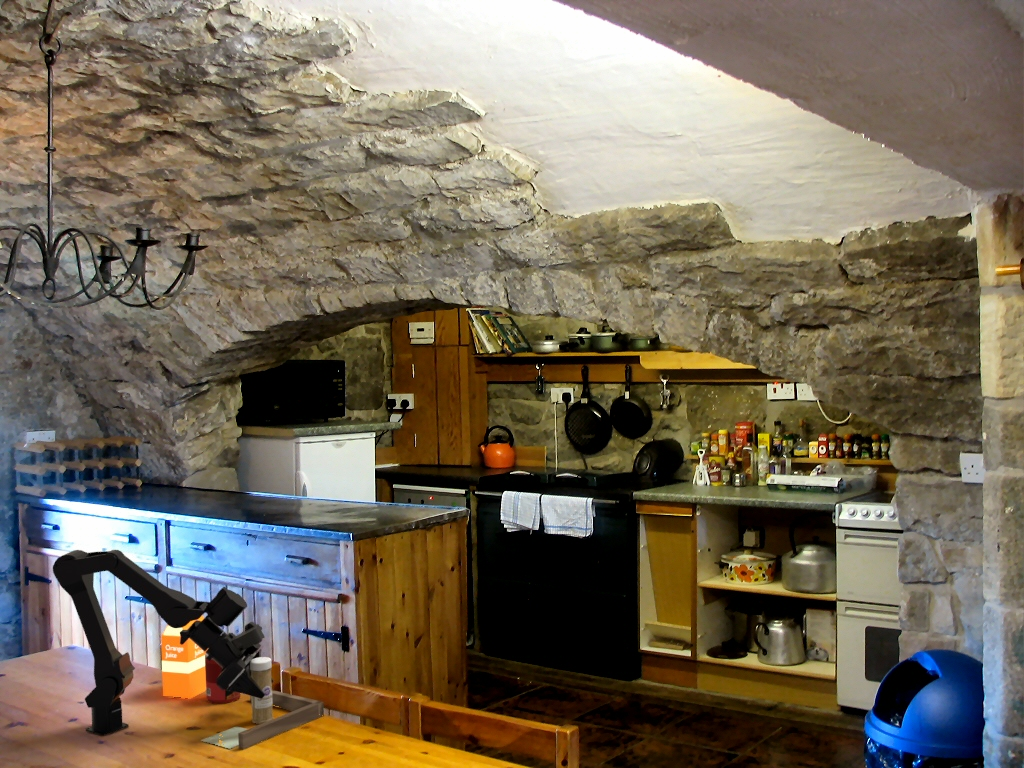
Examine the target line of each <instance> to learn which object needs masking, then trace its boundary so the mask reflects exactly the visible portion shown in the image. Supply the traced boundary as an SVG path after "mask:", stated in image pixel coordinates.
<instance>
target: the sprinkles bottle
mask: <svg viewBox="0 0 1024 768" xmlns="http://www.w3.org/2000/svg"><path fill="white" fill-rule="evenodd" d="M272 667H273V665H272V658H270V657H268V656H261V657H259V658H255V659H252V660H251V661H250V671H251V676H250V677H251V678H252V679H253V680H254V681H255V682H256V684H257V685H258V686H259V687H260V688H261V690H262V691H263V692H264V693H265V696H264V697H263V698H262V699H261V698H257V697H254V696H251V700H252V701H251V700H250V701H251V711H252V712H251V713H252V714H251V715H252V718H251V722H252V723H254V724H255V723H256V725H260V724H262V723H265V722H267V721H270V720H272V719H274V715H273V706H272V690H273V688H272V687H273V686H272V684H273V683H272V682H271V677H272Z"/></svg>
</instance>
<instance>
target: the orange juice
mask: <svg viewBox="0 0 1024 768" xmlns="http://www.w3.org/2000/svg"><path fill="white" fill-rule="evenodd" d="M204 618H205V617H204V614H203V615H202V616H201V617H200V618H199V619H198V620H199V621H202V620H203V619H204ZM195 621H196V620H194V621H190V622H189V623H188V624H187V625H186V626H184V627H182V628H172V627H170V626H169V625H168V624H166V626H165V629H164V630H163V632H162V634H161V636H160V641H161V642H160V644H161V645H160V646H161V673H162V697H163V696H173V697H172V698H174V697H181V698H180V699H185V698H188V700H190V699H192V698H194V697H196V696H198V695H200V694H202V693H204V692H206V675H205V652H206V651H207V650H208V649H209V648H208V649H207V650H206V651H205V652H204V651H203V650H202V649H201V648H200V647H199V646H197V645H196V644H195V643H194V642H193V641H192V640H191V639H190V638H189V639H188V640H187V641H186V642H185V643H184V644H183V645H181V644H180V632H181V631H182V630H183V629H184V630H186V629H188V628H189V627H190V626H191V625H192V624H193V623H194V622H195Z"/></svg>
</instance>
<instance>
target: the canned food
mask: <svg viewBox="0 0 1024 768" xmlns="http://www.w3.org/2000/svg"><path fill="white" fill-rule="evenodd" d="M207 656H208V655H207V654H206V653H205V675H206V691H205V693H206V694H205V696H206V699H207V702H208V701H209V702H208V703H210V702H211V703H210V704H214V703H223V704H229V703H233V702H236V701H237V699H238V698H239V699H241V698H240V697H241V696H242V695H241V694H242V693H241V694H240V693H239V692H234V691H230V690H229V691H227V688H228V687H229V686H230V685H231V684H229V685H228V686H227V687H226V688H225V690H224V691H223V690H222V689H220V688H219V687H218V686H217V682H216V679H217V678H218V676H219V675H220V674H221V673H222V672H221V671H220V670H221V669H222V667H221V666H220V665H219V664H217V663H216V662H215V661H214V660H213V659H211V660H210V661H209V660H208V659H207V658H206V657H207ZM239 699H238V700H239ZM235 700H236V701H235ZM232 701H233V702H232ZM228 702H229V703H228Z"/></svg>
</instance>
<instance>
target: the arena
mask: <svg viewBox="0 0 1024 768" xmlns="http://www.w3.org/2000/svg"><path fill="white" fill-rule="evenodd" d="M249 696H250V695H249ZM249 699H250V702H252V700H251V696H250V698H249ZM272 705H275V706H279V707H281V708H283V709H282V710H285V709H286V711H289V710H290V712H288V713H285V714H283V715H280V716H278V717H275V718H273V719H272V720H270V721H267V722H265V723H262V724H257V725H255V726H253V727H251V728H245V727H244V728H243V727H240V726H234V727H231V728H229V729H226V730H224V731H220V732H218V733H216V734H213V735H211V736H209V737H206V738H203V739H201V740H200V741H201V742H202V741H203V742H204V743H206V742H207V744H209V743H210V745H212V744H215V745H214V746H216V745H218V746H217V747H219V746H220V744H221V743H220V744H219V740H221V741H223V742H222V744H221V746H223V747H225V748H224V749H226V748H228V749H227V750H229V749H230V750H232V749H234V747H235V748H237V747H238V749H240V748H241V749H240V750H246V749H248V748H251V747H253V746H255V744H256V745H257V743H258V744H260V743H262V742H261V741H263V742H265V741H267V740H269V739H268V738H270V739H272V738H274V736H275V737H277V736H279V735H281V734H280V733H282V732H284V731H286V732H288V731H287V730H289V731H291V730H293V728H294V729H296V728H298V727H300V725H301V726H303V725H306V724H307V723H310V722H312V721H315V720H317V719H319V718H322V717H324V716H325V713H324V711H325V710H324V701H321V700H316V699H312V698H307V697H305V696H304V697H303V696H300V695H299V696H298V695H295V694H291V693H286V692H281V691H278V690H273V689H272ZM281 708H280V709H281ZM319 714H320V715H319ZM322 715H323V716H322ZM295 727H296V728H295ZM290 729H291V730H290ZM284 733H285V732H284ZM220 734H222V735H221V736H219V735H220ZM278 734H279V735H278ZM282 734H283V733H282ZM276 735H277V736H276ZM222 736H223V737H222ZM271 737H272V738H271ZM219 738H220V739H219ZM266 739H267V740H266ZM264 740H265V741H264ZM224 742H225V743H224ZM223 744H224V745H223ZM236 746H237V747H236ZM231 748H232V749H231Z"/></svg>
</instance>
